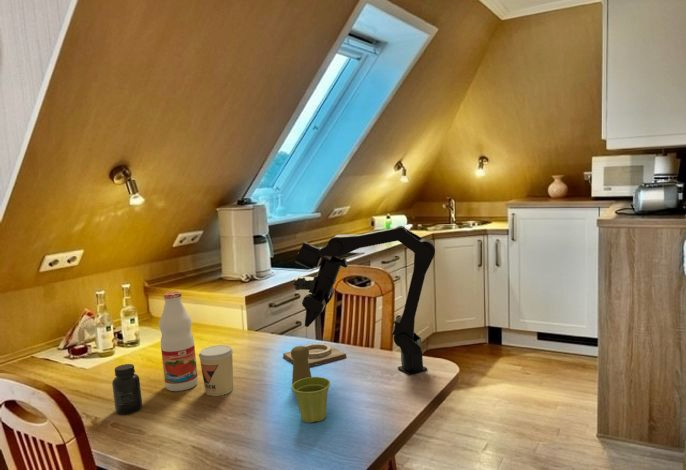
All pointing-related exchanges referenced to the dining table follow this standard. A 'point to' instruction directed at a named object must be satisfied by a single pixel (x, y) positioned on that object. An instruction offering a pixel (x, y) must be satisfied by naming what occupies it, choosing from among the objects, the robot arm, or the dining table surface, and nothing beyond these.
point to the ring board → (319, 354)
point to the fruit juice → (177, 345)
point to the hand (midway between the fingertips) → (309, 321)
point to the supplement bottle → (126, 390)
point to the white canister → (217, 369)
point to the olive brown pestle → (300, 363)
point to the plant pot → (312, 397)
